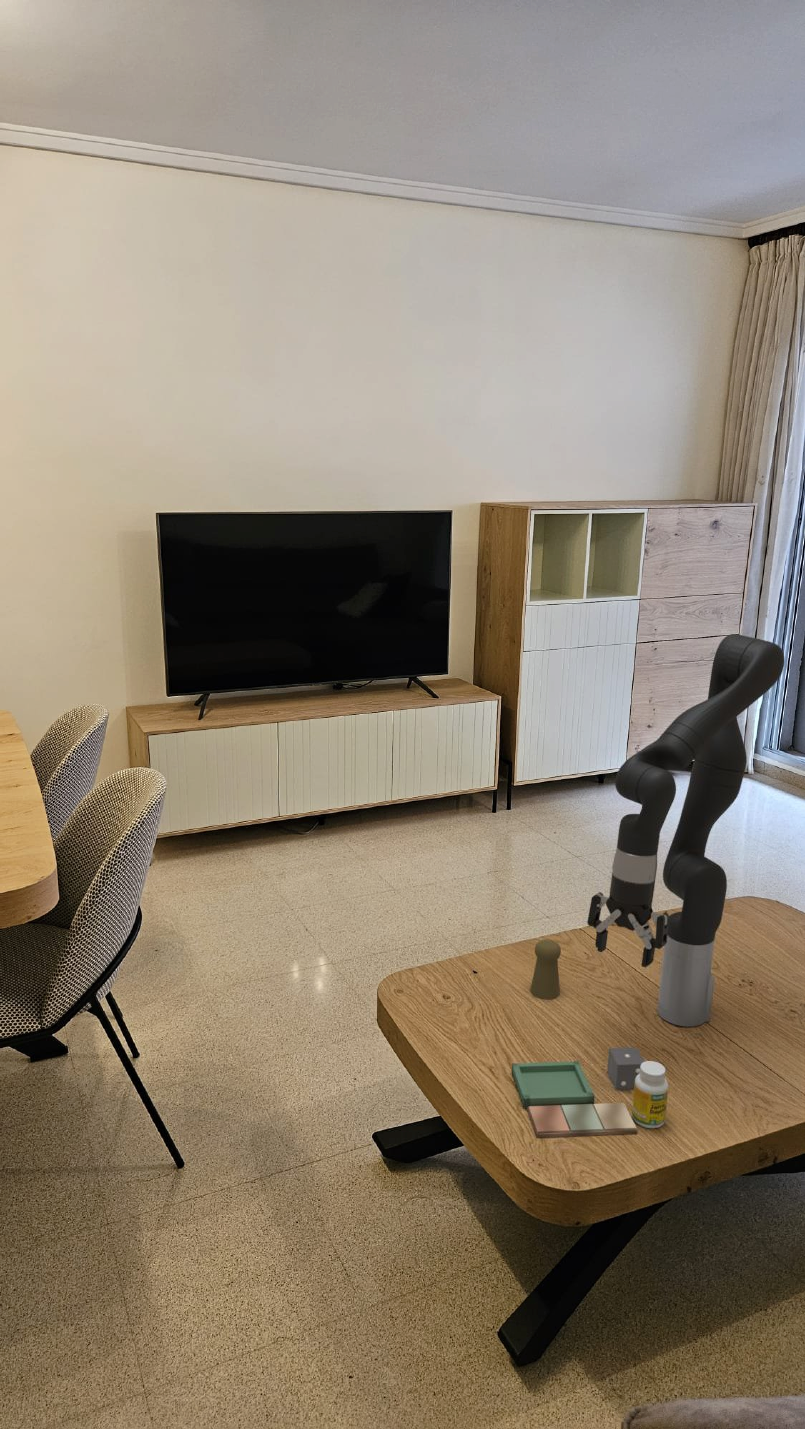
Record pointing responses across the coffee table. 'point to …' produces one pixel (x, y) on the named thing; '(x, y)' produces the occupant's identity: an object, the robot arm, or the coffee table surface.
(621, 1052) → the die
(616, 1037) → the coffee table surface
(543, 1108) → the track
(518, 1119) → the coffee table surface
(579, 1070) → the tray
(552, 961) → the olive game pawn
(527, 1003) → the coffee table surface
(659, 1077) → the supplement bottle
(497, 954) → the coffee table surface
